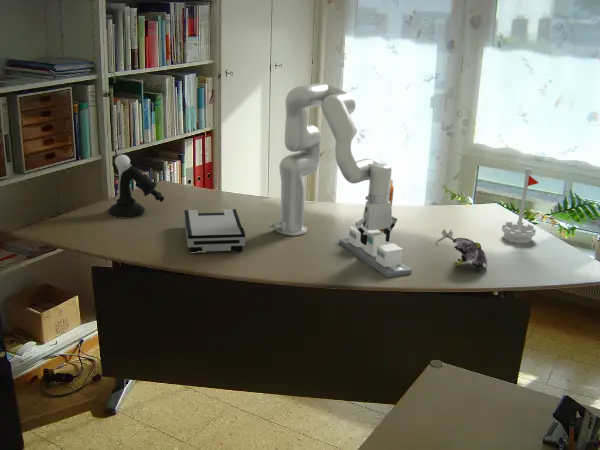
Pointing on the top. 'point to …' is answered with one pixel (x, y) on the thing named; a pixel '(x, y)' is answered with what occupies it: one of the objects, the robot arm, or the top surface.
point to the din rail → (394, 268)
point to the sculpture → (126, 202)
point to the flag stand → (520, 231)
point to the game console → (214, 231)
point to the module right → (389, 255)
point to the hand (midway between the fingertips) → (374, 242)
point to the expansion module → (374, 241)
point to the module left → (355, 237)
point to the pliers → (446, 236)
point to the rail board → (374, 260)
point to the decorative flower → (470, 252)
